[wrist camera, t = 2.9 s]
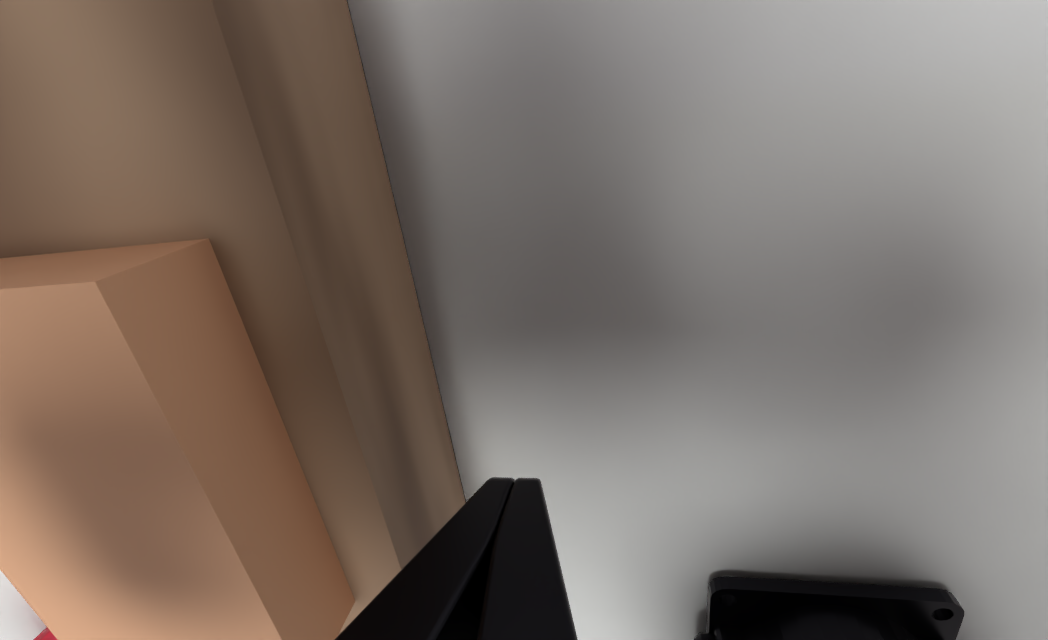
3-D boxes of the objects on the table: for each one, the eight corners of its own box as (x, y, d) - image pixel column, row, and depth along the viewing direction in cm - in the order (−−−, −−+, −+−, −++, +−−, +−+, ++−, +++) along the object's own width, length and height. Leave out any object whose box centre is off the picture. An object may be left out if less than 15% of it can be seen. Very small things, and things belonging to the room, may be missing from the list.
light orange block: (208, 238, 8) (95, 282, 6) (355, 601, 12) (309, 692, 10) (-57, 263, 9) (-215, 306, 8) (150, 585, 13) (77, 664, 11)
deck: (342, -20, 10) (185, -80, 6) (482, 572, 17) (446, 704, 13) (-34, 59, 12) (-314, 48, 8) (231, 557, 19) (141, 667, 15)
